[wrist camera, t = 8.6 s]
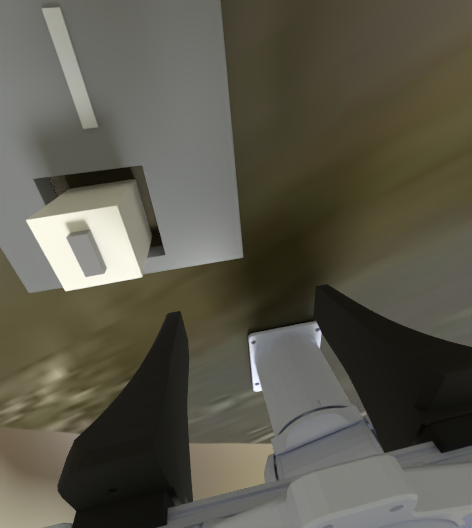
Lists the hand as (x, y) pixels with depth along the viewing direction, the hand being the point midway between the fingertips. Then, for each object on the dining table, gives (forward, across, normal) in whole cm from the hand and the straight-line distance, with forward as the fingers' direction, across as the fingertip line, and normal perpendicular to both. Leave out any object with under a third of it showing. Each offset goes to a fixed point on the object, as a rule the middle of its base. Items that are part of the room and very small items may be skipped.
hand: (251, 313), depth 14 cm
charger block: (+10, +8, -3) cm, 13 cm away
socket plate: (+9, +7, -7) cm, 14 cm away
